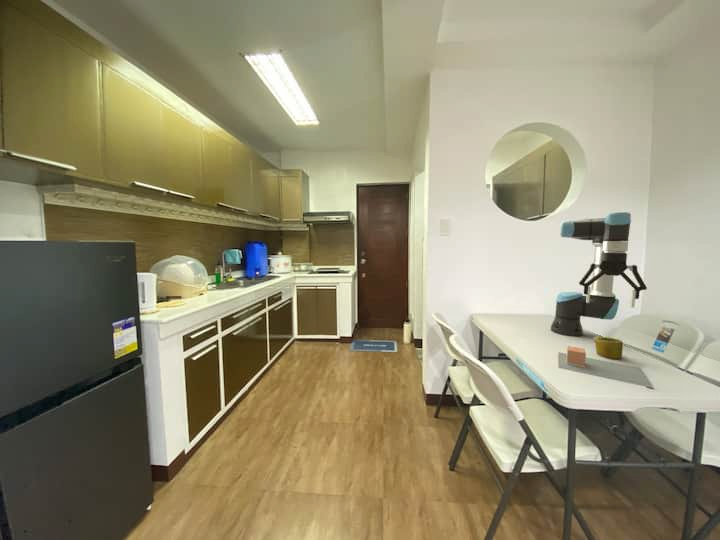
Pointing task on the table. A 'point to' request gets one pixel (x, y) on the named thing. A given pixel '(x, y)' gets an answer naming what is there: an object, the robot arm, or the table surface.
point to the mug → (608, 347)
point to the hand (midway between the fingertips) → (609, 304)
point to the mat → (607, 370)
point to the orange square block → (576, 356)
